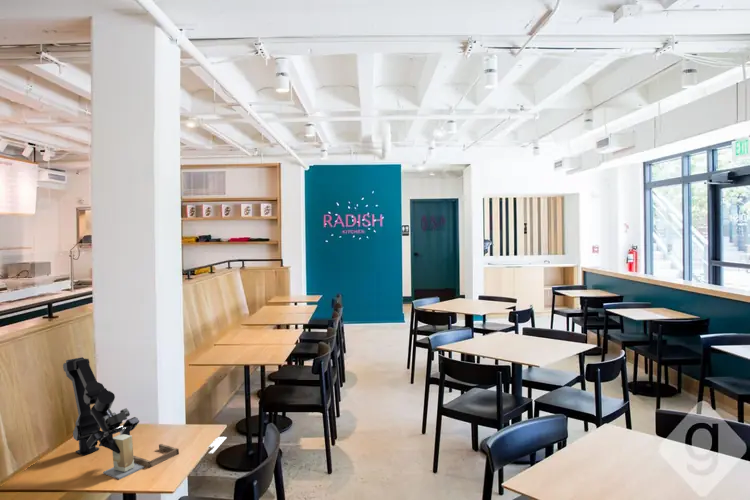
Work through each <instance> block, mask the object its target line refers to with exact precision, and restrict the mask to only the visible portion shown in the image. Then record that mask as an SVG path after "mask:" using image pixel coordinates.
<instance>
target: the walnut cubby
mask: <svg viewBox="0 0 750 500" xmlns="http://www.w3.org/2000/svg"><path fill="white" fill-rule="evenodd" d="M158 450H159V451H163V452H166V453H165V454H162V455H160V456H157V457H155V458H153V459H151V460H149V459H146V458H143V457H139V456H137V455H133V456H134V463H136V464H139V465H142V466H144V467H147V468H153V467H154V466H156V465H159V464H161V463H162V462H166V461H167V460H169V459H171V458H174V457H175V456H177V455H179V454H180V452H179V448H177V447H174V446H170V445H166V444H163V443H160V444H158Z"/></svg>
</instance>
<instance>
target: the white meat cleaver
mask: <svg viewBox="0 0 750 500" xmlns="http://www.w3.org/2000/svg"><path fill="white" fill-rule="evenodd" d="M226 439H227V436H218V437H216V438H215V439H214V440H213V441H212V442H211V443H210V445H208V446H207V449H208V448H209V447H210V448H211V450H210V451H208V454H209V455H212V454H214V453H215V452H216V450H217V449H218V448H219V447H221V445H222V444H223V443H224V441H226ZM210 448H209V449H210Z"/></svg>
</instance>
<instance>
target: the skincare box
mask: <svg viewBox="0 0 750 500" xmlns="http://www.w3.org/2000/svg"><path fill="white" fill-rule="evenodd" d="M113 440H114V441H115V443H116V444H117V446H118V448H119V450H120V453H119V454H118V453H116V452H114V451H112V460H113V463H112V464H113V467H114V470H118V471H123V472H126V471H128V470H129V469H131V468H133V467H134V456H135V455H134V446H133V435H131V434H130V435H125V434H120V433H119V434H118V435H116V436H113Z"/></svg>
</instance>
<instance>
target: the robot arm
mask: <svg viewBox="0 0 750 500" xmlns="http://www.w3.org/2000/svg"><path fill="white" fill-rule="evenodd" d="M62 368H63V371H64V372H65V375H66V377H67V379H69V380H70V381H71V384H72V389H73V393H74V397H75V404H76V408H77V413H78V416H77V418H76V421H75V427H74V429H73V432H72V436H73V439H74V440H75V441H76V442H78V447H79V448H78V449H77V450H75V454H79V455H81V456H86V455H88V454H92V453H94V452H96V451H99V450H100V447H103V448H106V449H109V450H110V451H112V452H113V451H114V452H116V453H118V454H119V453H120V450H119V448H118V446H117V444H116V443H115V441H114V440H113V437H114V436H113V435H115V434H117V433H119V435H120V434H125V435H130V436H131V432H132V431H133V430H134V429H135V428H137V425H139V423H140V419H139V418H138V417H136V416H134V417H131V418H129V419H128V417H130V413H131V412H130V411H129V409H128V407H126V408H123V409H121V410H120V412H119V413H116V412H112V410H111V408H112V406H113V404H114V401H115V398H116V396H115V393H113V392H112V391H111V390H107V388H105V385H103V383H101V382H98V381H97V380H98V379H96V376H95V374H94V372H93V369H92V367H91V366H90V360H89V358H84V357H83V356H80V357H76V358H70V359H67V360H65V362H64V363H63V365H62ZM91 405H93V406H92V407H91ZM123 421H125V422H123ZM98 442H99V444H98ZM97 446H99V447H97Z"/></svg>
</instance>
